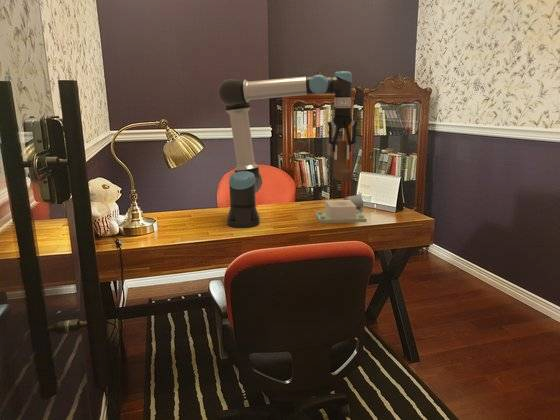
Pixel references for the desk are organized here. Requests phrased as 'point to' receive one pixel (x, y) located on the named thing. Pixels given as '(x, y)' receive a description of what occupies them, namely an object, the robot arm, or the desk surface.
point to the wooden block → (341, 163)
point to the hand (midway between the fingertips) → (341, 158)
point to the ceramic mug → (356, 201)
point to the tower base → (326, 220)
